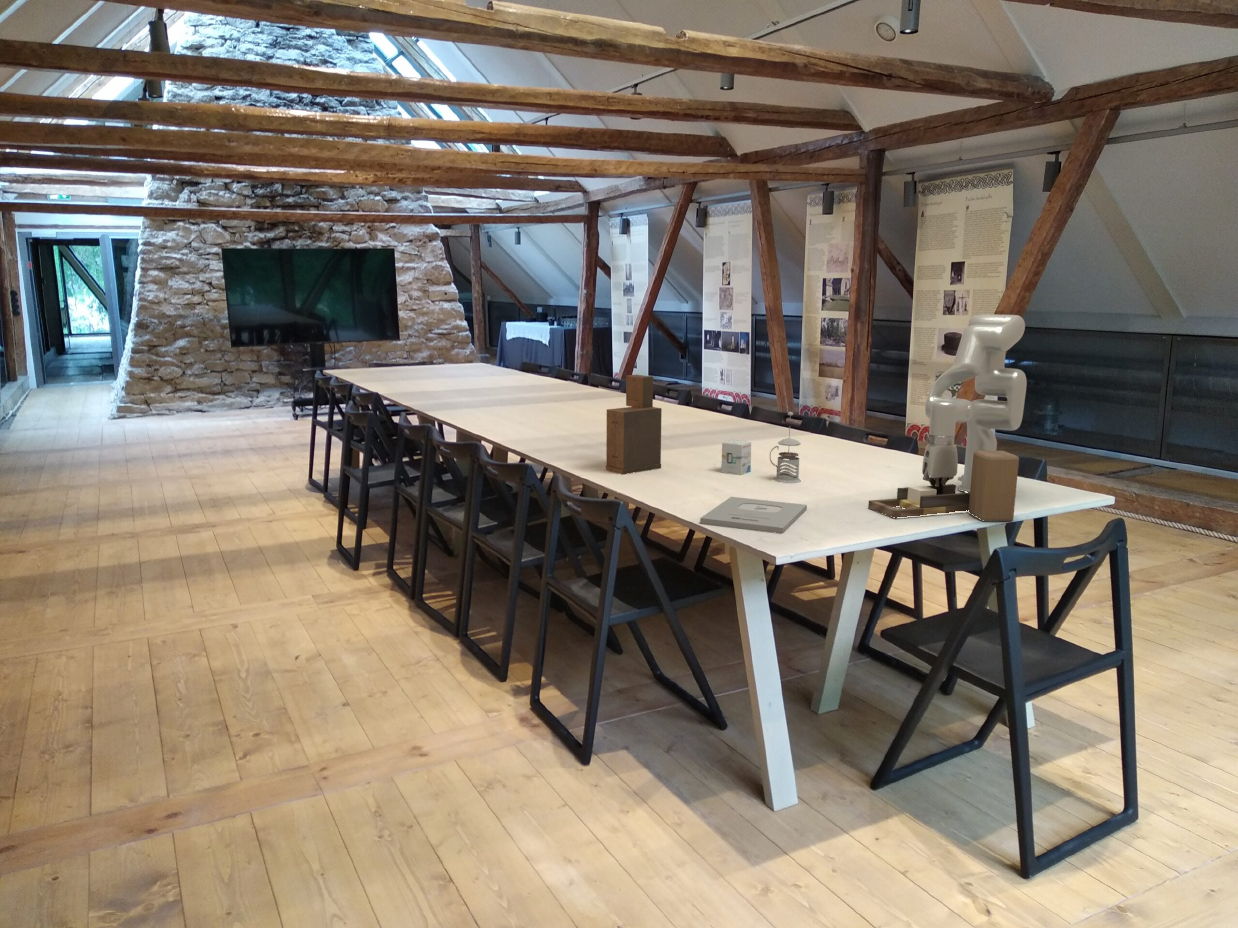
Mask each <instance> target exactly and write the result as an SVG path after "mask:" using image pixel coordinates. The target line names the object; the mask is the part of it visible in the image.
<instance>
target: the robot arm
mask: <svg viewBox="0 0 1238 928" xmlns="http://www.w3.org/2000/svg"><path fill="white" fill-rule="evenodd" d="M1025 328H1026V323H1025V320H1024V318H1023V317H1022V316H1020V315H1018V314H993V313H989V314H988V313H983V314H982V313H981V314H975V315H973V316H971V317H970V319H969V320H968V324H967V327H966V328H964V330H963V331H962V332H963V333H962V334H961V338H960V341H959V345H958V347H957V351H956V354H955V357H954V360H953V364H952V366H951V367H950V368H948V369H947V370H945V371H944V372H942V373H941V374H940V375H939V377H938V378H937V379H936V380H934V382H933V383H932V385H931V387H930V389H929V393H928V395H927V399H926V402H925V407H924V408H925V409H924V410H925V411H924V413H925V415H926V417H927V418H928V419H929V427H928V428H929V430H928V437H926V439H925V441H926V442H927V443H928V444H926V446H925V449H924V453H923V459H922V466H921V467H922V469H921V472H922V475H923V477H922V480H923V481H926V482H929V485H930V486H932V488H933V489H936V490H937V493H936V495H942V494H943V486H945V485H947V484H946V483H948V481H951V480H953V479H954V478H955V477H956V476H957V474H958V467H959V466H958V465H959V464H958V462H959V461H958V460H959V459H958V449H957V445H956V444H955V439H956V428H957V427H956V424H957V423H958V424H963V423H966V445H965V457H964V468H963V469H964V472H963V474H962V475H961V476H958V477H957V481H960V483H961V484H959V485H958V486H957V490H958V489H960V490H963V491H967V492H970V488H971V476H972V465H973V453H974V452H975V451H997V446H998V441H997V438H996V435H995V434H994V432H993V431H992V430H1002V431H1016V430H1018V429H1019V428H1020V427H1021V424H1022V421H1023V416H1024V410H1025V409H1024V408H1025V400H1026V394H1027V385H1028V382H1027V377H1026V373H1025V372H1024V371H1023V370H1022V369H1019V368H1010V367H1009V368H1008V367H1005V363H1006V351H1009V350H1010V349H1011V348H1012V347H1013V346H1015V344H1016V343H1018V342H1019V341H1020V340H1021V338H1022V337H1023V335H1024V332H1025V330H1026V329H1025ZM974 378H975V379H974ZM971 379H974V390H975V392H976V393H977V394H979V395H983V396H990V397H999V398H1003V397H1004V398H1006V399H1007V400H1005V401H1003V400H995V399H986V398H983V399H980V398H977V399H974V400H972V401H971V400H968V399H966V398H958V397H957V398H956V397H946V396H943V394H944V393H945V392H946V391H947V390H948V389H949V388H950V387H952V386H954V385H957V384H959V383H962V382H965V381H968V380H971Z"/></svg>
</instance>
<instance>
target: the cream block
mask: <svg viewBox="0 0 1238 928" xmlns="http://www.w3.org/2000/svg"><path fill="white" fill-rule="evenodd" d="M927 486H928V485H914V486H907V487H908V497H907V501H909V502H912V503H915V504H917V505H920V496H929V495H936V493H937V490H936V489H933V488H930V487H927Z"/></svg>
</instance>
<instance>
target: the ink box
mask: <svg viewBox="0 0 1238 928" xmlns="http://www.w3.org/2000/svg"><path fill="white" fill-rule="evenodd" d="M751 464H752V441H746V440H735V439H731V440H726V441H724V442H722V443H721V471H720V473H722V474H729V475H737V476H742V475H745V474H748V473H750V472H751V470H752V467H751Z"/></svg>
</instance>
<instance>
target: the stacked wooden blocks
mask: <svg viewBox="0 0 1238 928" xmlns="http://www.w3.org/2000/svg"><path fill="white" fill-rule="evenodd" d="M625 377H626V378H625V380H626V381H625V383H626V384H625V388H626V389H625V406H626V407H617V408H608V409H606V446H605V447H606V452H605V453H606V454H605V455H606V458H605V459H606V463H605V464H606V465H605V470H606V471H608V472H611V473H615V472H616V473H615V474H619V473H620V475H627V473H629V474H633V472H635V473H641V472H647V471H652V470H654V471H655V470H657V469H659V470H660V469H662V460H661V459H662V407H655V406H653V404H654V403H653V402H654V399H653V397H654V376H649V375H643V374H641V375H640V374H629V375H626V376H625Z"/></svg>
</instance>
